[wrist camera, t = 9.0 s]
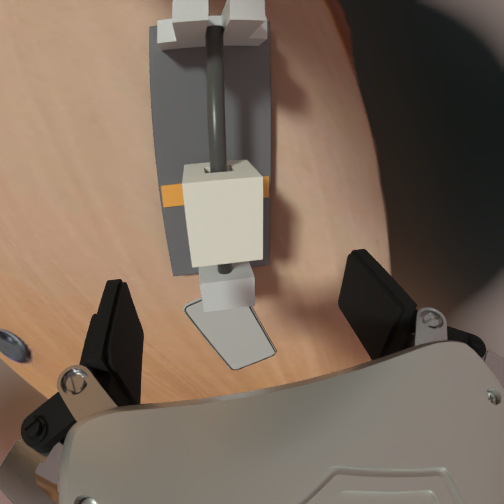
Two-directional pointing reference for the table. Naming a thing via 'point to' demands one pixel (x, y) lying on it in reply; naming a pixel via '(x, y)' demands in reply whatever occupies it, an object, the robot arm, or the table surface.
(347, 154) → the table surface
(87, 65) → the table surface
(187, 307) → the smartphone
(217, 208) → the notched cream block
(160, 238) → the table surface
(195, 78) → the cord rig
